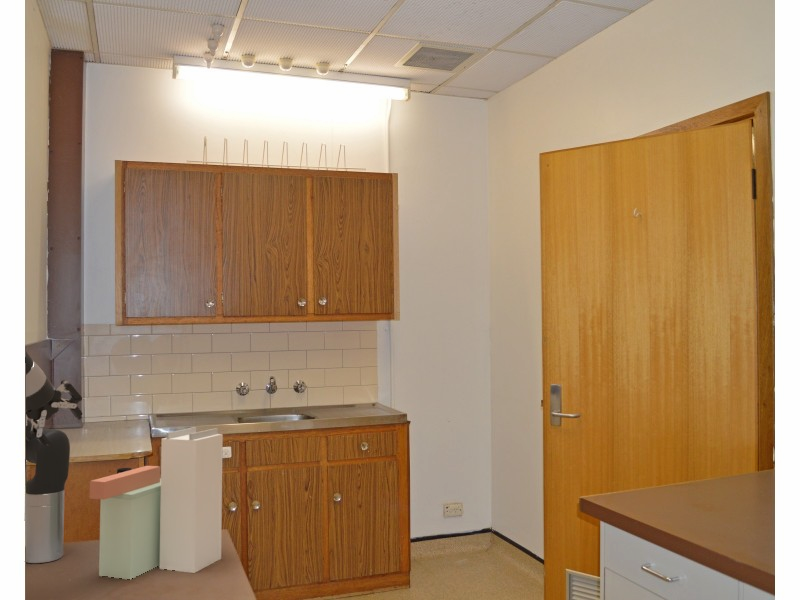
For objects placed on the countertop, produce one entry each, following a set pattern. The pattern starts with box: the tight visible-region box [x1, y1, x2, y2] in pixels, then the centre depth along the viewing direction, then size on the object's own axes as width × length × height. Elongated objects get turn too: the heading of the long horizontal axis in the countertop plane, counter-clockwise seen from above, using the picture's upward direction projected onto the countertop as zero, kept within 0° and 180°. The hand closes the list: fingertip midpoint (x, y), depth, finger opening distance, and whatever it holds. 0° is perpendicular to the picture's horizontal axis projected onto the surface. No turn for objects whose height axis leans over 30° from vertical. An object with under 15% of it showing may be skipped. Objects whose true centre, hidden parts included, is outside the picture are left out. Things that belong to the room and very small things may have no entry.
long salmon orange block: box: [89, 465, 161, 500], centre depth 178 cm, size 4×21×4 cm, turn 163°
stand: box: [158, 426, 224, 574], centre depth 185 cm, size 10×12×34 cm
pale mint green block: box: [98, 477, 161, 581], centre depth 183 cm, size 10×20×20 cm, turn 162°
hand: (63, 430), depth 168 cm, fingers open, 8 cm apart
